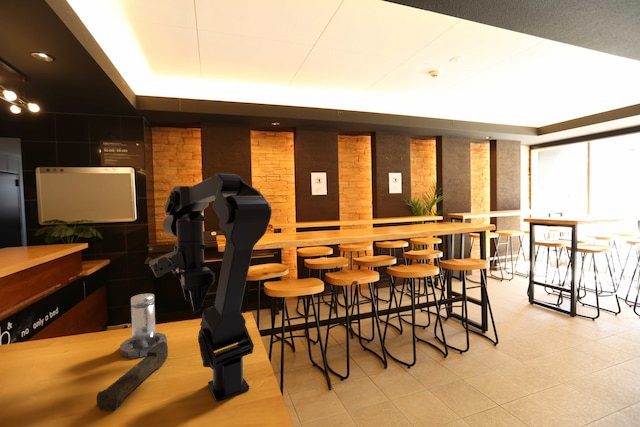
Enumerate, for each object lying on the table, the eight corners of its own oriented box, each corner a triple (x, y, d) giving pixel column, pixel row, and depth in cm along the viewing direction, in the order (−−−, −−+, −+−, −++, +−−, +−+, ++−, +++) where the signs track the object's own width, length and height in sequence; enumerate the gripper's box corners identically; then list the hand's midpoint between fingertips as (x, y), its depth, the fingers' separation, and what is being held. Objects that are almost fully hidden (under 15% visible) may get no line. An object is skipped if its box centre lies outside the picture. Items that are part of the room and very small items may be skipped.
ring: (169, 350, 76) (168, 344, 76) (120, 362, 70) (120, 356, 70) (163, 334, 84) (163, 329, 84) (120, 344, 79) (119, 339, 78)
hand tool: (115, 414, 54) (115, 389, 54) (95, 412, 54) (94, 387, 54) (178, 358, 73) (178, 339, 72) (162, 357, 73) (162, 338, 73)
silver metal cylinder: (153, 350, 75) (151, 298, 75) (130, 354, 74) (128, 301, 73) (157, 341, 80) (155, 292, 79) (135, 344, 79) (133, 294, 78)
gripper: (147, 238, 75) (149, 301, 76) (156, 249, 59) (158, 328, 60) (195, 235, 81) (197, 293, 82) (214, 244, 66) (216, 315, 67)
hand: (192, 305), depth 73 cm, fingers open, 9 cm apart
